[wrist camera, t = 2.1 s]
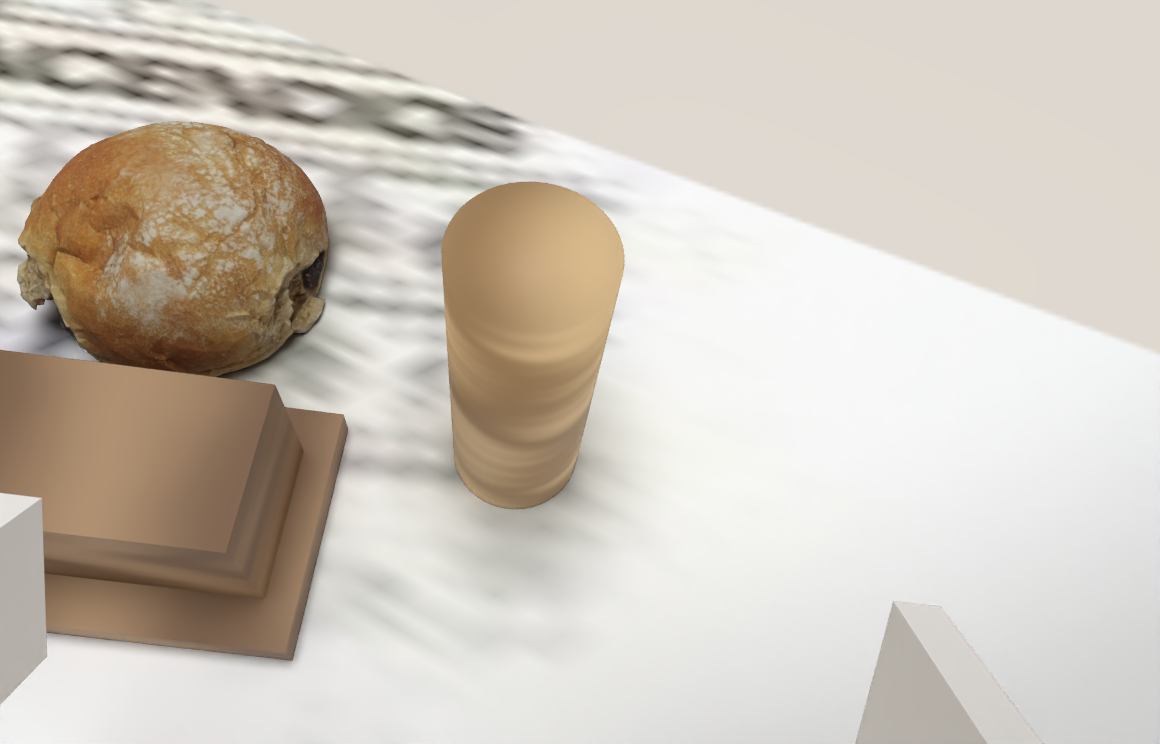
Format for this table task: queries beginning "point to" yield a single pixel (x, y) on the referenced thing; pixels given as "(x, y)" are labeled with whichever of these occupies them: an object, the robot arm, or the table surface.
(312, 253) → the bread roll
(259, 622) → the base
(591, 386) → the post
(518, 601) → the table surface
